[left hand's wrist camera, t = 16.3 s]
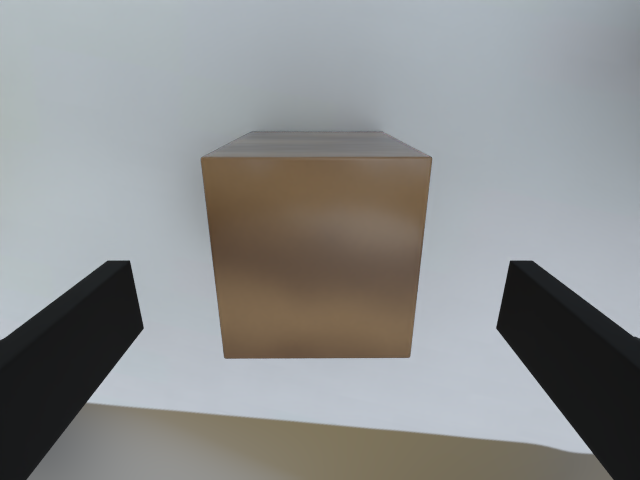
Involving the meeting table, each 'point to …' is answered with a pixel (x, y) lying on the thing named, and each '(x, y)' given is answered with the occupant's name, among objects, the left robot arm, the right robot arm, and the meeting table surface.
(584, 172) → the meeting table surface
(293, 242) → the block
